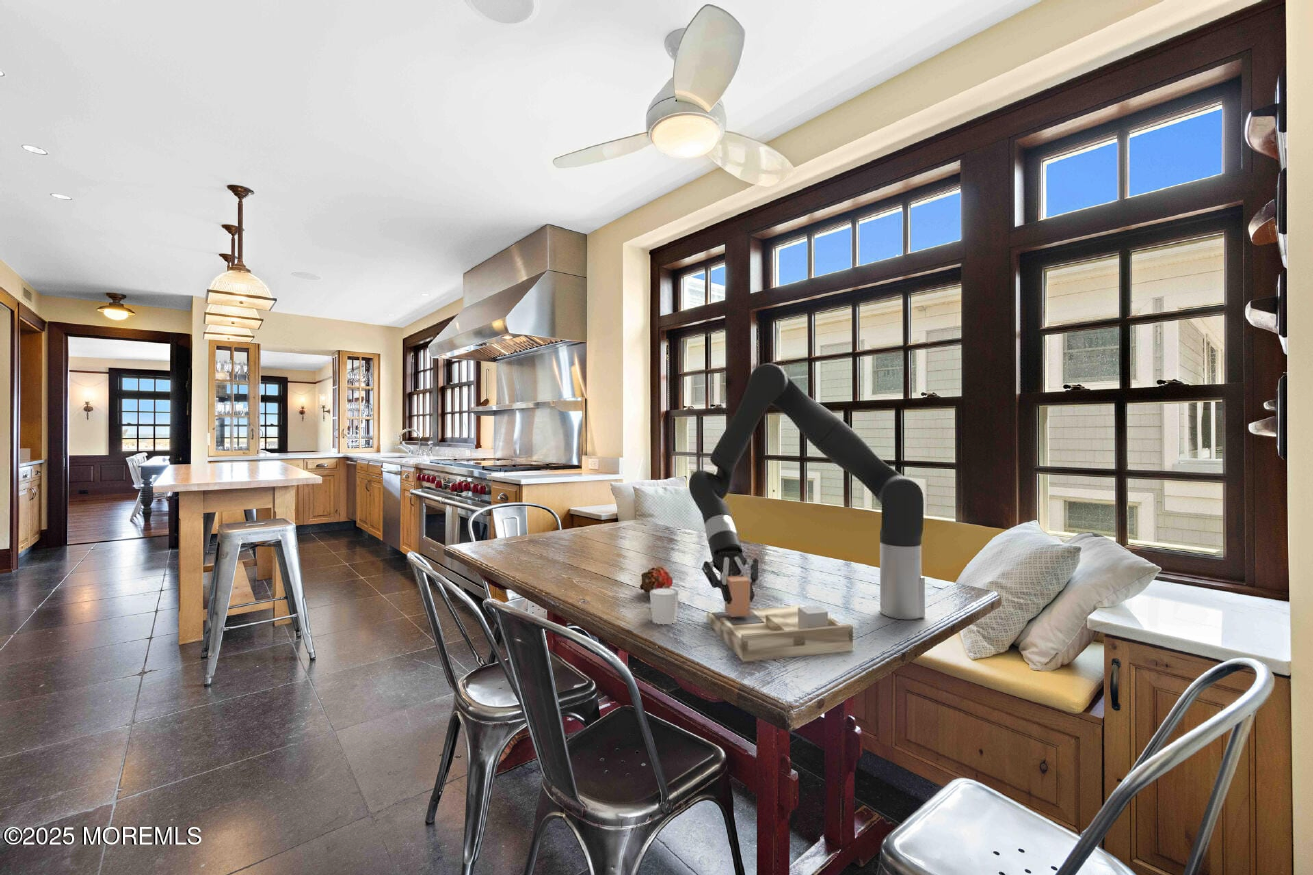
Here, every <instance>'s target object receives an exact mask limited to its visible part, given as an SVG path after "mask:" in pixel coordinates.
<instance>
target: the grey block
mask: <svg viewBox="0 0 1313 875" xmlns="http://www.w3.org/2000/svg"><path fill="white" fill-rule="evenodd" d="M828 616H829V612H828V611H827V610H825V609H823V608H822V607H821V606H819V605H810V606H808V605H807V606H801V607H798V629H807V628H818V627H828Z"/></svg>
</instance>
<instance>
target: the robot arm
mask: <svg viewBox="0 0 1313 875" xmlns="http://www.w3.org/2000/svg"><path fill="white" fill-rule="evenodd" d="M771 405H773V406H774V407H775V408H777V409H778V410H779V411H780V412H782V413H783V414H784V415H786V416H787V417H788V419H790V420H791V422H792V424H793V425H795V426H796V428H797V429H798V431H800V432H801V434H802V435H803V436H804V437H805V438H806V440H808V441H809V443H810V444H812V445H813V446H814V447H815V448H816V449H817V450H818V451H820V452H821V453H822V454H823V455H824V456H825V457H826V458H828V459H829V461H831V462H833V463H834V464H836V465H837V466H838V467H840V468H841V469H842V470H844V471H846V472H847V473H849V474H850V475H852V476H853V477H855V478H856V479H857V480H858V481H859V482H861V483H862V484H863V485H864V487H866V488H867V490H869V491H870V493H871V494H872V495H873V496H874V497H875V498H876V499H877V500H878V502H879V503H880V504H881V523H880V524H881V525H880V530H879V531H880V532H879V596H880V597H879V599H880V600H879V601H880V602H879V608H880V609H879V610H880V613H881V614H882V615H883V616H886V617H888V618H892V619H898V620H916V619H921V618H926V579H925V576H923V575H922V536H923V533H924V510H925V509H924V508H925V506H924V504H925V503H924V502H925V501H924V493H923V490H922V488H921V487H920V485H919V484H918V483H917V482H915V481H914V480H912V479H911V478H909V477H906V476H904V475H902V474H901V473H900V472H899V471H897V470H895V469H894V468H892V467H891V466H890V465H889V464H887V463H886V462H884V461H883V460H882V459H881V458H879V456H877V455H876V454H875V452H874V451H873V450H872V449H871V447H870V446H869V445H868V444H867V443H866V442H865V440H864V439H863V438H862V437H861V436H860V435H859V434H858V433H857V432H856V431H855V430H854V429H853V428H852V427H850V425H848V424H847V423H846V422H845V421H843V420H842V419H841V418H840V417H838V416H837V415H836V414H835V413H834V412H832V411H831V410H830V409H828V408H827V407H825V406H823V405H822V404H821V403H819V402H817V401H816V400H815V399H813V398H812V397H811V396H809V395H807V394H806V393H805V392H804V391H803V390H802V389H801V388H800V387H799V385H798V384H796V383H795V382H794V380H793V379H792V378H791V377H790V376H789V375H788V374H787V372H785V370H784V369H783V368H782V367H781V366H779V365H777V364H775V363H771V362H767V363H762V364H760V365H758V366H756V367H755V368H754V369H753V370H752V372H751V374H750V377H749V380H748V382H747V385H746V389H745V391H744V394H743V396H742V399H741V401H740V403H739V405H738V407H737V410H736V412H735V413H734V415H733V417H732V419H731V420H730V421H729V423H728V425H727V427H726V428H725V430H724V432H723V434H722V435H721V436H720V439H719V440H718V442H717V444H715V447H714V448H713V451H712V452H711V454H710V457H709V460H710V463H712V465H713V466H715V467H716V473H712V472H708V471H706V470H702V469H700V470H696V471H695V472H693V473H692V475H690V478H689V481H688V490H689V493H690V496H691V497H692V499H693V501H694V503H695V505H696V507H697V508H698V510H699V511H700V513H701V516H702V519H703V524H704V528H705V535H706V541H707V543H708V547H709V551H710V554H711V555H710V556H711V561H707V560H705V561H703V564H702V567H701V570H702V572H703V574H704V575H705V577H706V579H707V580H708V582H709V584H710V586H711V587H712V588H714V589H716V588H718V589H719V590H720V591H721V594H722V599H723V602H724V603H725V602H727V604H730V603H731V601H732V597H731V594H730V590H729V587H728V585H727V579H726V578H727V577H728V576H739V575H741V576H745V577H746V578H748V579H749V580H750V603H752V602H753V600H754V598H755V591H754V588H753V586H755V585H756V583H757V582H758V580H759V559H758V558H756V557H755V558H753V559H749V558H747V557H746V556H745V554H744V552H743V551H744V550H743V547H742V544H741V541H740V537H739V534H738V531H737V528H736V527H737V526H736V525H735V523H734V520H733V518H732V514H731V511H730V509H729V505H728V503H727V502H726V501H725V500H723V499H725V498H726V496H727V495H728V493H729V491H730V486H731V483H732V479H733V476H734V471H735V469H736V466H737V464H738V463H739V461H740V460H741V458H742V456H743V455H744V452H746V449H747V446H748V445H749V443H750V441H751V438H752V437H753V434H754V432H755V429H756V427H757V426H758V423H759V422H760V420H761V418H762V417H763V415H764V413H765V412H766V410H767V409H768V408H769V407H770V406H771ZM746 565H747V567H748V569H749V570H750V576H749V574H748V570H747V569H746ZM714 568H715V570H717V572H719V574H720V575H719V578H718V576H717V574H716V573H715V571H714Z"/></svg>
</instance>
